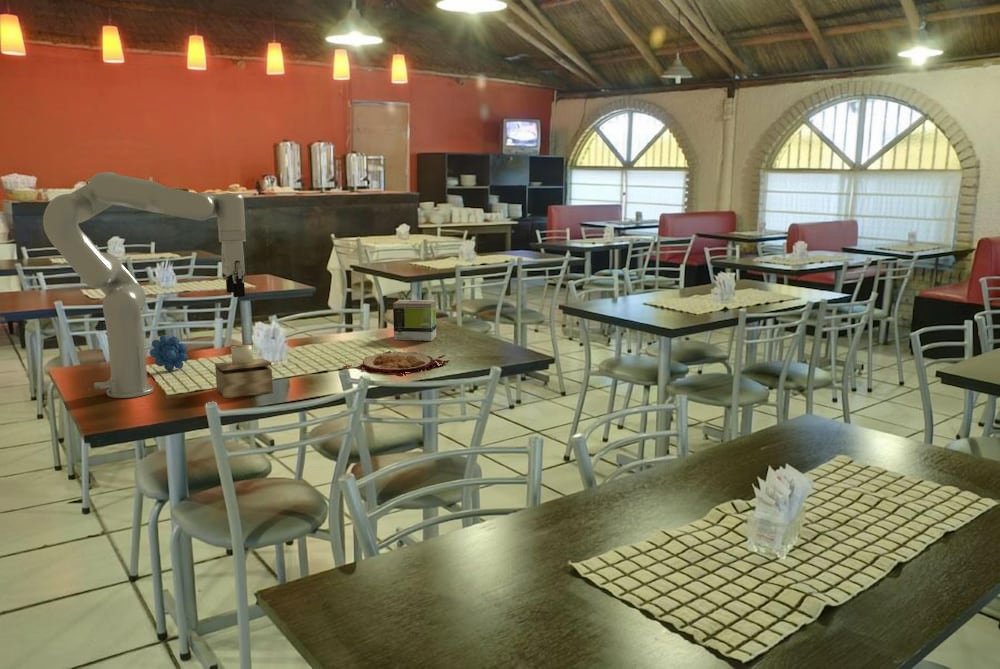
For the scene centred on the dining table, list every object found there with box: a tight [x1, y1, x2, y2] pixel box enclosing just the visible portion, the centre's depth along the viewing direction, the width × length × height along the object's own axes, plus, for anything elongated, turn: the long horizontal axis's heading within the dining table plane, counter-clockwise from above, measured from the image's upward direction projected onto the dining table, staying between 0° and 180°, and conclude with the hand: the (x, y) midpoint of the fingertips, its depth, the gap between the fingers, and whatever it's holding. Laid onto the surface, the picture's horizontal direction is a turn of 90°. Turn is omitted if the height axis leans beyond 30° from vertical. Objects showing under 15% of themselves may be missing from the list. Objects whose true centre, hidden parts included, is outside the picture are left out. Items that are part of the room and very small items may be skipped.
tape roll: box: [230, 344, 254, 365], centre depth 241 cm, size 6×6×5 cm
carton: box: [214, 366, 274, 399], centre depth 242 cm, size 14×11×7 cm
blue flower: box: [149, 334, 189, 372], centre depth 264 cm, size 12×7×12 cm, turn 123°
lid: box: [214, 358, 272, 371], centre depth 241 cm, size 14×11×1 cm
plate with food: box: [342, 350, 450, 376], centre depth 275 cm, size 25×26×4 cm
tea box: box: [392, 299, 437, 342], centre depth 317 cm, size 15×10×15 cm
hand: (235, 294), depth 242 cm, fingers open, 9 cm apart
